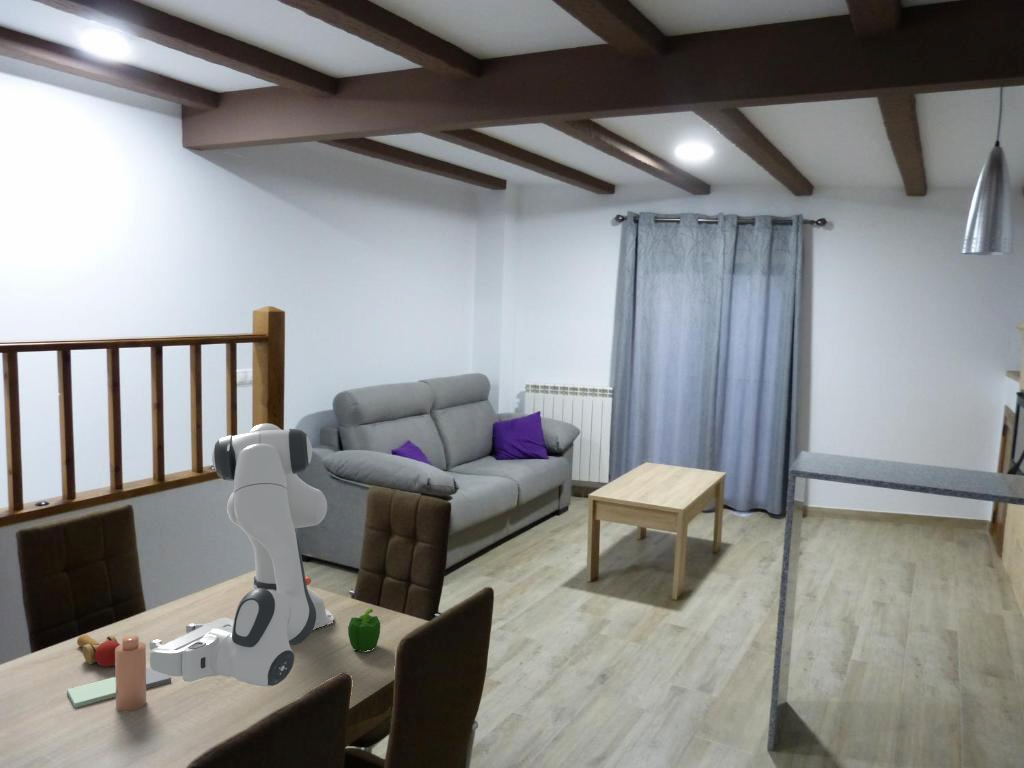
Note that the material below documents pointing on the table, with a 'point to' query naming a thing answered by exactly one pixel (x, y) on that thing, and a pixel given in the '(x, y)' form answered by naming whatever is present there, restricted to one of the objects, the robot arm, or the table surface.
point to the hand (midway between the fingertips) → (170, 635)
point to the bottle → (130, 674)
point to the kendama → (98, 650)
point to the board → (109, 688)
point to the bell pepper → (364, 631)
